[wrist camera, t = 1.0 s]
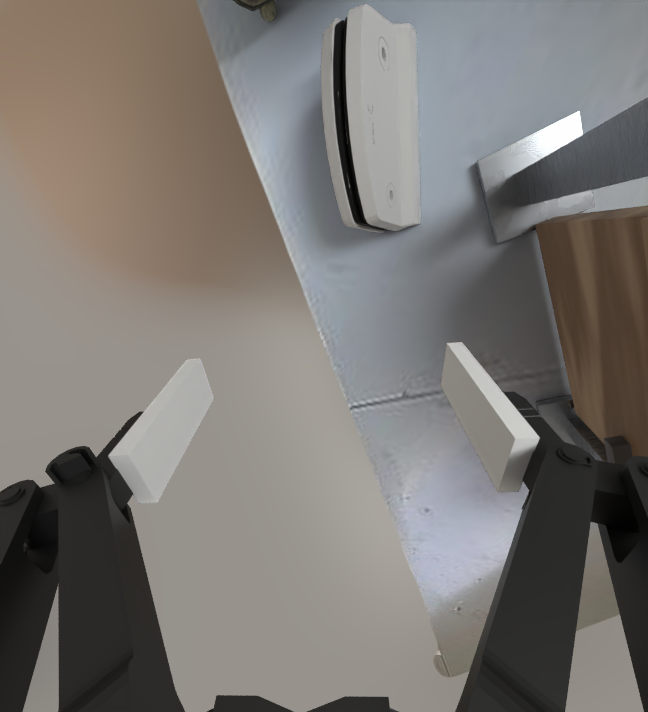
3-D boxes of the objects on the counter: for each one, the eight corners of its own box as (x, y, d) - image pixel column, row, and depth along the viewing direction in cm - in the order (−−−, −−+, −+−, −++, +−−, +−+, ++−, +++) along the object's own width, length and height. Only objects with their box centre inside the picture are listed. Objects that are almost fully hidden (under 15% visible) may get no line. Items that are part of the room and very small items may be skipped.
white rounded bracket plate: (421, 227, 32) (382, 231, 25) (380, 233, 35) (335, 239, 28) (416, 26, 27) (364, -48, 19) (368, 52, 29) (306, -3, 22)
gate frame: (573, 115, 26) (934, -148, 8) (628, 443, 35) (857, 664, 17) (475, 163, 29) (581, 48, 11) (548, 454, 38) (673, 652, 20)
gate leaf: (559, 214, 28) (739, 191, 13) (597, 409, 33) (754, 555, 18) (520, 230, 29) (642, 225, 14) (563, 415, 34) (683, 557, 19)
